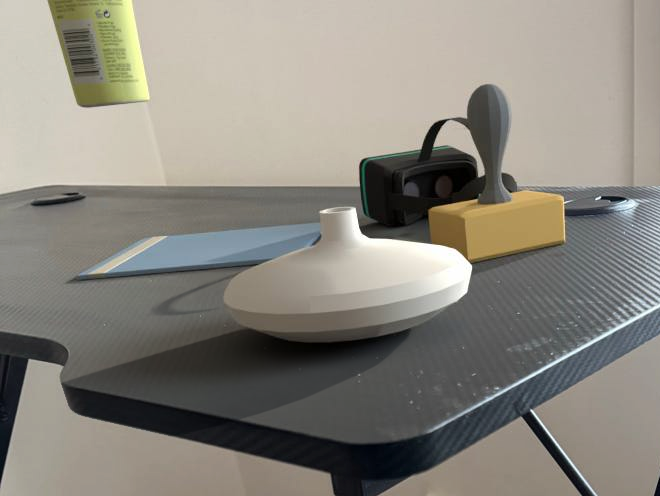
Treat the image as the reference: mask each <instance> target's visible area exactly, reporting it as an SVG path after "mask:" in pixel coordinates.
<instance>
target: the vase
mask: <svg viewBox="0 0 660 496" xmlns="http://www.w3.org/2000/svg"><path fill="white" fill-rule="evenodd" d="M318 215H319V221H320V222H321V230H322V234H321V235H320V236H321V238H320V239H319V241H317V243H316V244H314V245H311V246H310V247H306V248H303V249H300V250H297V251H293V252H291V253H288V254H286V255H283V256H280V257H278V258H275V259H273V260H270V261H267V262H265V263H262V264H256V265H255V266H252V267H250V268H248V269H246V270H244V271H242V272H240V273H239V272H238V273H237V274H236V275H235V276H234V277H233V278H232V279H231V280H229V282H228V285H227V287H226V288H225V290H224V293H223V298H222V300H223V304H224V305H225V307H226V309H227V311H228V312H229V315H230V316H231V318H232V319H233V321H235V322H236V323H238V324H239V325H241V326H242V327H245V328H248V329H251V330H254V331H256V332H259V333H263V334H266V335H268V336H270V337H271V336H272V337H273V338H277V339H281V340H285V341H289V342H299V343H335V342H336V343H337V342H350V341H358V340H365V339H370V338H377V337H381V336H387V335H391V334H395V333H399V332H403V331H405V330H408V329H411V328H414V327H415V328H416V327H417V326H420V325H422V324H424V323H426V322H428V321H430V320H431V319H433V318H435V317H436V316H438V315H439V314H440V313H442V312H443V311H445V310H446V309H447V308H449V307H450V306H452V305H454V304H455V303H456V302H458V301H459V300H460V299H462V298H463V296H465V295H466V294H467V293H468V291H469V285H470V280H471V276H472V270H473V266H472V263H469V262H468V261H467V260H466V259H465V258H464V257H463V256H462V254H460V253H459V252H458V251H457V250H455V249H452V248H449V247H445V246H440V245H432V243H423V242H416V241H409V240H408V241H407V240H401V239H391V238H369V237H368V236H366V235H364V234H363V233H362V232H361V229H360V227H359V222H358V221H359V220H358V216H357V210H356V207H355V206H338V207H337V206H336V207H331V208H325V209H322V210H319V211H318Z"/></svg>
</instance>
